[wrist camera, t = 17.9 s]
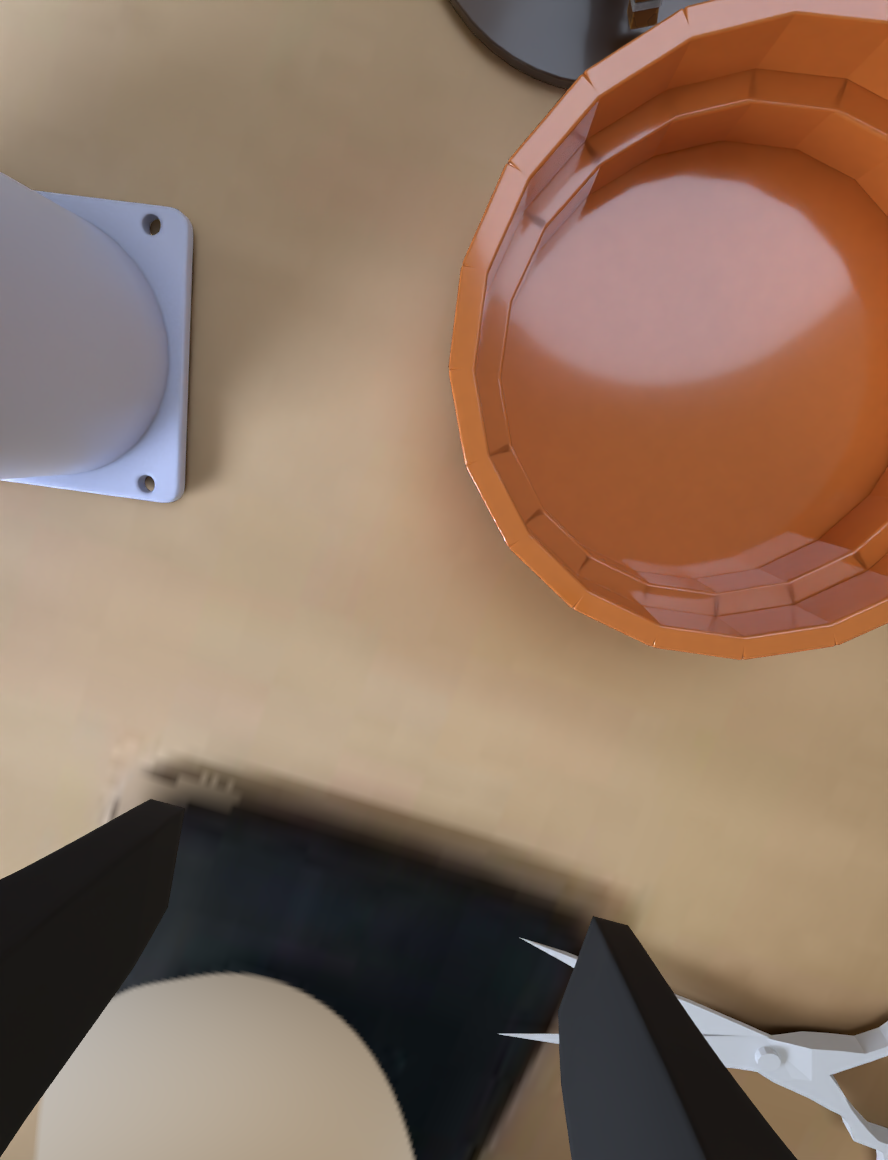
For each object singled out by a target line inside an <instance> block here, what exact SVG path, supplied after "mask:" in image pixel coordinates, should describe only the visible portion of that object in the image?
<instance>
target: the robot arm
mask: <svg viewBox="0 0 888 1160" xmlns="http://www.w3.org/2000/svg"><path fill="white" fill-rule="evenodd" d="M156 219H159V220H160V223H161V228H160V231H159V232H158V233H157V234H156V235H151V233H150V225H151V223H152V222H153V221H154V220H156ZM192 261H193V227H192V224H191V222H190V220H189V219H188V218H187V217H186V216H185V215H184V214H183V213H182V212H180V211H179V210H178V209H175V208H172V207H166V206H158V205H150V204H142V203H134V202H125V201H117V200H109V199H101V198H93V197H85V196H77V195H68V194H60V193H52V192H44V191H36V190H32V189H30V188H28V187H26V186H24V185H23V184H21V183H19V182H17V181H16V180H14V179H12V178H10V177H9V176H7V175H5V174H3V173H2V172H0V480H2V481H10V482H17V483H24V484H31V485H38V486H46V487H53V488H60V489H67V490H74V491H82V492H89V493H96V494H103V495H110V496H118V497H125V498H132V499H139V500H146V501H154V502H161V503H168V502H174V501H176V500H178V499H180V498H181V496H182V495H183V493H184V489H185V468H186V438H187V409H188V379H189V350H190V320H191V291H192ZM147 476H151V477H152V479H153V480H154V483H155V487H154V490H153V491H150V490H148V489H147V487H146V485H145V479H146V477H147ZM184 810H185V808H183V807H179V806H175V805H171V804H167V803H164V802H160V801H156V800H152V799H150V800H148V801H146V802H144V803H142V804H141V805H139V806H137V807H135V808H133V809H131V810H129V811H128V812H126V813H124V814H122V815H120V816H119V817H117V818H115V819H113V820H111V821H110V822H108V823H106V824H104V825H103V826H101V827H99V828H97V829H95V830H94V831H92V832H90V833H88V834H86V835H85V836H83V837H81V838H79V839H77V840H76V841H74V842H72V843H70V844H68V845H66V846H64V847H63V848H61V849H59V850H57V851H55V852H53V853H51V854H49V855H48V856H46V857H44V858H42V859H40V860H38V861H36V862H35V863H33V864H31V865H29V866H27V867H25V868H23V869H21V870H19V871H17V872H15V873H13V874H11V875H9V876H7V877H5V878H3V879H1V880H0V1157H1V1155H2V1154H3V1152H4V1151H5V1149H6V1148H7V1146H8V1145H9V1143H10V1142H11V1140H12V1139H13V1137H14V1136H15V1134H16V1133H17V1131H18V1130H19V1128H20V1127H21V1125H22V1124H23V1122H24V1121H25V1119H26V1118H27V1117H28V1115H29V1114H30V1112H31V1111H32V1110H33V1108H34V1107H35V1105H36V1104H37V1103H38V1101H39V1100H40V1098H41V1097H42V1096H43V1094H44V1093H45V1091H46V1090H47V1089H48V1087H49V1086H50V1084H51V1083H52V1082H53V1080H54V1079H55V1077H56V1076H57V1075H58V1073H59V1072H60V1070H61V1069H62V1068H63V1066H64V1065H65V1063H66V1062H67V1061H68V1059H69V1058H70V1056H71V1055H72V1054H73V1052H74V1051H75V1049H76V1048H77V1047H78V1045H79V1044H80V1042H81V1041H82V1040H83V1038H84V1037H85V1036H86V1034H87V1033H88V1031H89V1030H90V1029H91V1027H92V1026H93V1024H94V1023H95V1022H96V1020H97V1019H98V1017H99V1016H100V1014H101V1013H102V1012H103V1010H104V1009H105V1007H106V1006H107V1005H108V1003H109V1002H110V1000H111V999H112V998H113V996H114V995H115V993H116V992H117V990H118V989H119V988H120V986H121V985H122V983H123V982H124V980H125V979H126V978H127V976H128V975H129V973H130V972H131V970H132V969H133V967H134V966H135V964H136V962H137V961H138V959H139V957H140V955H141V954H142V952H143V950H144V948H145V947H146V945H147V943H148V942H149V940H150V938H151V936H152V934H153V933H154V931H155V929H156V927H157V925H158V924H159V922H160V920H161V918H162V916H163V915H164V913H165V911H166V909H167V907H168V902H169V896H170V891H171V885H172V879H173V873H174V868H175V862H176V856H177V851H178V845H179V839H180V833H181V828H182V822H183V816H184ZM558 1018H559V1051H560V1071H561V1086H562V1093H563V1101H564V1108H565V1115H566V1122H567V1129H568V1136H569V1143H570V1150H571V1157H572V1160H797V1159H796V1157H795V1156H794V1155H793V1154H792V1152H791V1151H790V1150H789V1149H788V1148H787V1146H786V1145H785V1144H784V1143H783V1141H782V1140H781V1139H780V1138H779V1136H778V1135H777V1134H776V1133H775V1131H774V1130H773V1129H772V1128H771V1126H770V1125H769V1124H768V1122H767V1121H766V1120H765V1118H764V1117H763V1116H762V1115H761V1113H760V1112H759V1111H758V1109H757V1108H756V1107H755V1105H754V1104H753V1103H752V1101H751V1100H750V1099H749V1098H748V1096H747V1095H746V1094H745V1092H744V1091H743V1090H742V1088H741V1087H740V1086H739V1085H738V1083H737V1082H736V1081H735V1079H734V1078H733V1076H732V1075H731V1074H730V1072H729V1071H728V1070H727V1068H726V1067H725V1065H724V1064H723V1063H722V1061H721V1060H720V1059H719V1057H718V1056H717V1054H716V1053H715V1052H714V1050H713V1049H712V1047H711V1046H710V1045H709V1043H708V1042H707V1040H706V1039H705V1038H704V1036H703V1035H702V1033H701V1032H700V1030H699V1029H698V1028H697V1026H696V1025H695V1023H694V1022H693V1020H692V1019H691V1017H690V1016H689V1015H688V1013H687V1012H686V1010H685V1009H684V1007H683V1006H682V1004H681V1003H680V1001H679V1000H678V998H677V997H676V995H675V994H674V993H673V991H672V990H671V988H670V987H669V985H668V984H667V982H666V981H665V979H664V978H663V976H662V975H661V973H660V972H659V970H658V969H657V967H656V966H655V964H654V963H653V961H652V960H651V958H650V957H649V955H648V954H647V952H646V951H645V949H644V948H643V946H642V945H641V943H640V942H639V940H638V939H637V938H636V936H635V935H634V933H633V932H632V930H631V929H630V928H629V926H628V925H624V924H620V923H617V922H613V921H609V920H605V919H602V918H598V917H594V916H593V918H592V921H591V923H590V926H589V929H588V932H587V934H586V937H585V940H584V942H583V945H582V948H581V951H580V953H579V956H578V959H577V961H576V964H575V967H574V970H573V972H572V975H571V978H570V980H569V983H568V986H567V989H566V991H565V994H564V997H563V999H562V1002H561V1005H560V1008H559V1010H558Z"/></svg>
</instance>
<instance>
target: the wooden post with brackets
mask: <svg viewBox="0 0 888 1160" xmlns="http://www.w3.org/2000/svg"><path fill="white" fill-rule="evenodd" d="M661 3H662V0H629V5H628V9H627V15H628V20H629V25H630V29H637V28H643V27H648V26H653V25H656V24H657V20H658V12H659V7H661Z"/></svg>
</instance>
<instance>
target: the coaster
mask: <svg viewBox="0 0 888 1160" xmlns="http://www.w3.org/2000/svg"><path fill="white" fill-rule="evenodd" d="M705 1H709V0H662V3H661V7H659V12H658V20H657V24H658V23H660V22H661V21H663V20H664V19H666V18H667V17H669V16H670V15H672V14H674V13H675V12H677V11H678V10H680V9H682V8H683V9H684V8H685V7H687V6H689V5H693V4H697V3H701V2H705ZM450 2H451V4H452V5H453V7H454V9H455V10H456V12H457V13H458V14H459V15H460V17H461V18H462V19H463V21H464V22H465V23H466V25H467V26H468V27H469V29H470V30H471V31H472V32H473V33H474V34H475V35H476V36H477V37H478V38H479V39H480V40H481V41H482V42H483V43H484V44H485V45H486V46H487V47H488V48H489V49H490V50H491V51H492V52H494V53H495V54H496V55H498V56H499V57H500V58H502V59H503V60H504V61H506V62H507V63H508V64H510V65H511V66H512V67H514V68H516V69H518V70H520V71H522V72H524V73H525V74H527V75H529V76H531V77H533V78H535V79H538V80H540V81H543V82H546V83H549V84H552V85H555V86H557V87H562V88H567V89H569V88H570V86H571V85H572V84H573V83H574V82H575V80H576V79H577V78H578V77H579V76H580V75H581V74H583V73H584V71H585V70H586V69H588V68H590V67H591V66H593V65H594V64H596V63H597V62H599V61H600V60H602V59H604V58H605V57H607V56H608V55H610V54H611V53H613V52H614V51H616V50H618V49H619V48H621V47H622V46H624V45H625V44H627V43H628V42H630V41H632V40H633V39H635V38H636V37H638V36H639V35H641V34H642V33H644V32H646V31H647V30H649V29H650V28H652V27H653V26H655V25H653V26H648V27H643V28H637V29H630V25H629V20H628V15H627V9H628V5H629V0H450Z"/></svg>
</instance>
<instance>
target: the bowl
mask: <svg viewBox="0 0 888 1160" xmlns="http://www.w3.org/2000/svg"><path fill="white" fill-rule="evenodd" d="M462 265H463V266H462V267H461V270H460V278H459V286H458V294H457V302H456V310H455V318H454V326H453V334H452V342H451V350H450V358H449V366H448V367H449V377H450V383H451V388H452V394H453V400H454V406H455V411H456V417H457V423H458V428H459V434H460V440H461V445H462V451H463V457H464V462H465V464H466V465H467V466H466V469H467V470H468V472H469V474H470V476H471V478H472V480H473V482H474V484H475V486H476V488H477V489H478V491H479V493H480V495H481V497H482V499H483V501H484V503H485V505H486V506H487V508H488V510H489V512H490V514H491V516H492V518H493V520H494V522H495V524H496V525H497V527H498V529H499V531H500V533H501V535H502V537H503V539H504V541H505V542H506V544H507V546H508V547H510V550H511V551H512V552H513V553H515V554H516V555H517V556H518V557H519V558H520V559H521V560H522V561H523V562H524V563H525V564H526V565H527V566H528V567H529V568H530V569H531V570H532V571H533V572H534V573H535V574H536V575H537V576H538V577H539V578H540V579H542V580H543V581H544V582H545V583H546V584H547V585H548V586H549V587H550V588H551V589H552V590H553V591H554V592H555V593H556V594H557V595H558V596H559V597H560V598H561V599H562V600H563V601H564V602H565V603H566V604H568V605H569V606H570V607H572V608H573V609H574V610H575V611H577V612H580V613H582V614H584V615H586V616H588V617H590V618H592V619H594V620H596V621H598V622H600V623H602V624H605V625H607V626H609V627H611V628H613V629H615V630H617V631H619V632H621V633H623V634H625V635H627V636H630V637H632V638H634V639H636V640H638V641H640V642H642V643H644V644H646V645H648V646H653V647H654V648H660V649H667V650H674V651H681V652H688V653H695V654H702V655H709V656H716V657H723V658H730V659H737V660H742V659H744V660H746V659H752V658H759V657H766V656H773V655H779V654H786V653H793V652H800V651H806V650H813V649H820V648H827V647H833V646H835V645H840V644H842V643H844V642H847V641H849V640H851V639H853V638H855V637H858V636H860V635H862V634H864V633H867V632H869V631H871V630H873V629H876V628H878V627H880V626H882V625H884V624H887V623H888V0H709V1H705V2H701V3H697V4H693V5H689V6H687V7H685V8H684V9H683V8H682V9H680V10H678V11H677V12H675V13H674V14H672V15H670V16H669V17H667V18H666V19H664V20H663V21H661V22H660V23H658V24H656V25H655V26H653V27H652V28H650V29H649V30H647V31H646V32H644V33H642V34H641V35H639V36H638V37H636V38H635V39H633V40H632V41H630V42H628V43H627V44H625V45H624V46H622V47H621V48H619V49H618V50H616V51H614V52H613V53H611V54H610V55H608V56H607V57H605V58H604V59H602V60H600V61H599V62H597V63H596V64H594V65H593V66H591V67H590V68H588V69H586V70H585V71H584V73H583V74H581V75H580V76H579V77H578V78H577V79H576V80H575V82H574V83H573V84H572V85H571V86H570V88H569V89H568V90H567V91H566V92H565V93H564V95H563V96H562V97H561V98H560V99H559V101H558V102H557V103H556V104H555V105H554V106H553V108H552V109H551V110H550V111H549V112H548V114H547V115H546V116H545V117H544V118H543V119H542V121H541V122H540V123H539V124H538V125H537V127H536V128H535V129H534V130H533V131H532V133H531V134H530V135H529V136H528V137H527V138H526V140H525V141H524V142H523V143H522V144H521V146H520V147H519V148H518V149H517V150H516V151H515V153H514V154H513V155H512V156H511V157H510V159H509V160H508V164H506V165H505V166H504V169H503V171H502V173H501V175H500V178H499V180H498V182H497V185H496V187H495V189H494V191H493V194H492V196H491V198H490V201H489V203H488V205H487V207H486V210H485V212H484V214H483V216H482V219H481V221H480V223H479V226H478V228H477V230H476V232H475V235H474V237H473V239H472V242H471V244H470V246H469V248H468V251H467V253H466V255H465V258H464V260H463V263H462Z"/></svg>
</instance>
